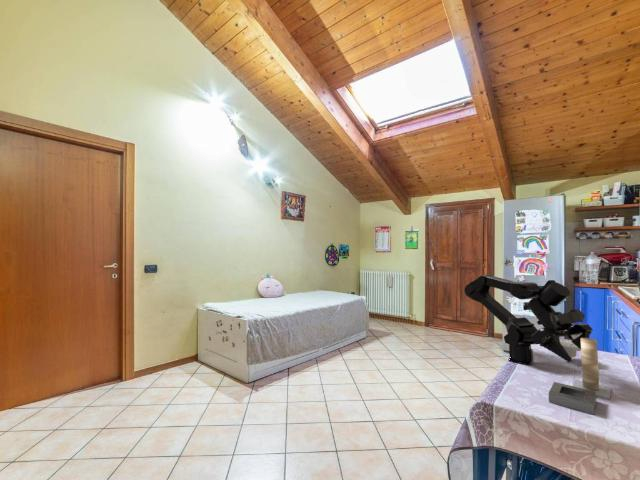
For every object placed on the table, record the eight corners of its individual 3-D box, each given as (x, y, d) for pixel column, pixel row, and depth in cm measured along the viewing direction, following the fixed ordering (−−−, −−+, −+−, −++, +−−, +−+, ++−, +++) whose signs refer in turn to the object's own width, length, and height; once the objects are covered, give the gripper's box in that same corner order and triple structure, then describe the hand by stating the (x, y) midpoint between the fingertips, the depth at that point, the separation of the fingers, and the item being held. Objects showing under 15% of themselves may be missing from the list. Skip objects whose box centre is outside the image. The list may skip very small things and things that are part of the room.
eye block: (548, 402, 81) (548, 392, 81) (554, 390, 88) (554, 381, 88) (593, 414, 75) (593, 404, 75) (596, 401, 81) (595, 391, 81)
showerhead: (557, 334, 117) (589, 341, 108) (557, 353, 117) (590, 361, 108) (543, 338, 112) (576, 346, 104) (544, 358, 112) (577, 367, 103)
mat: (571, 390, 87) (571, 388, 87) (574, 381, 93) (574, 379, 93) (609, 399, 82) (609, 397, 82) (610, 389, 87) (610, 387, 87)
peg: (585, 389, 86) (583, 340, 87) (580, 384, 90) (578, 337, 90) (601, 391, 85) (599, 341, 86) (595, 386, 88) (593, 338, 89)
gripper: (538, 302, 93) (578, 350, 82) (585, 298, 97) (628, 343, 86) (517, 321, 100) (550, 367, 89) (561, 317, 105) (598, 361, 94)
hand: (582, 359), depth 90 cm, fingers open, 9 cm apart
